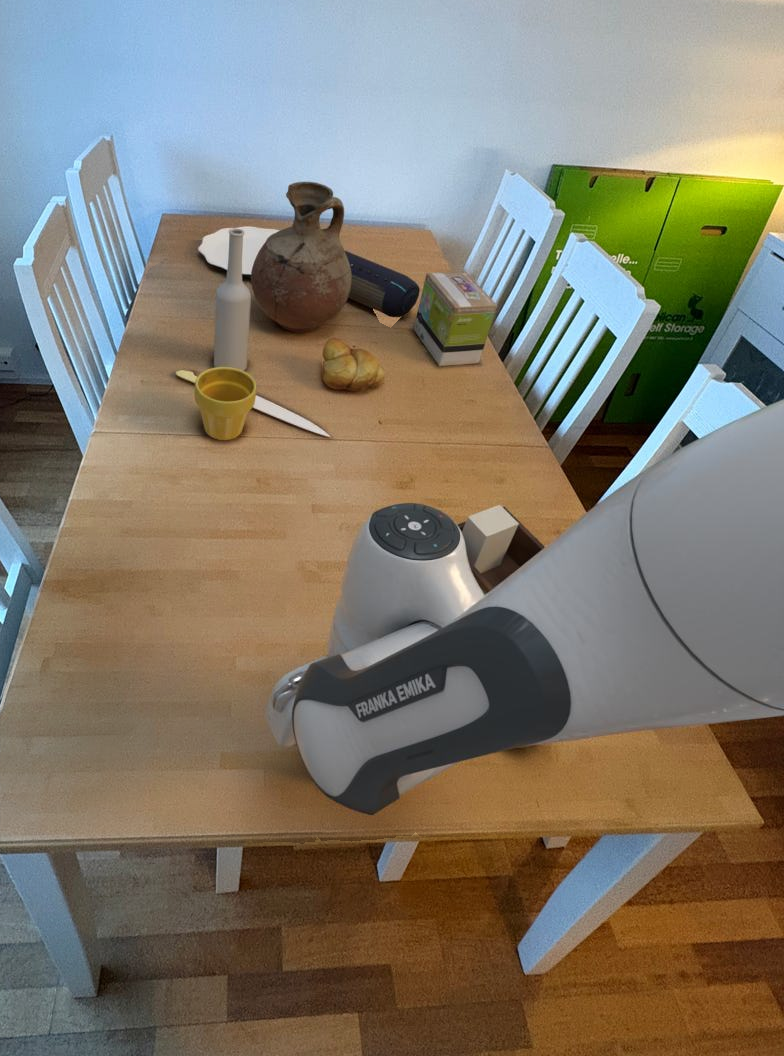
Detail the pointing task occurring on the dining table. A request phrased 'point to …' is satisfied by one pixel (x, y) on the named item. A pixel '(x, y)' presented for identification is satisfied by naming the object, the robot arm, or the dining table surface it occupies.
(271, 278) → the jug
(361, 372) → the bread roll
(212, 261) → the plate
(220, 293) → the bottle
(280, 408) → the knife
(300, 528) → the dining table surface
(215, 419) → the flower pot
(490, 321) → the tea box
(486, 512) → the cream book
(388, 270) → the portable speaker
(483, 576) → the book bin
